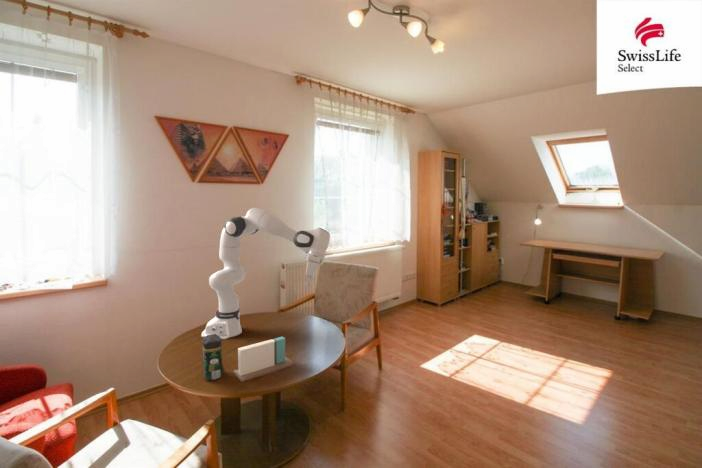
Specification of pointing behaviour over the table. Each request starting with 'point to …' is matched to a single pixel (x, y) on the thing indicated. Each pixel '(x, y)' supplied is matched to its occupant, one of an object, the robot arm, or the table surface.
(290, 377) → the table surface
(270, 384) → the table surface
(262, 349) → the stand
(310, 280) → the robot arm
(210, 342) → the coffee jar
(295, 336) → the table surface
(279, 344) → the teal rectangular block
